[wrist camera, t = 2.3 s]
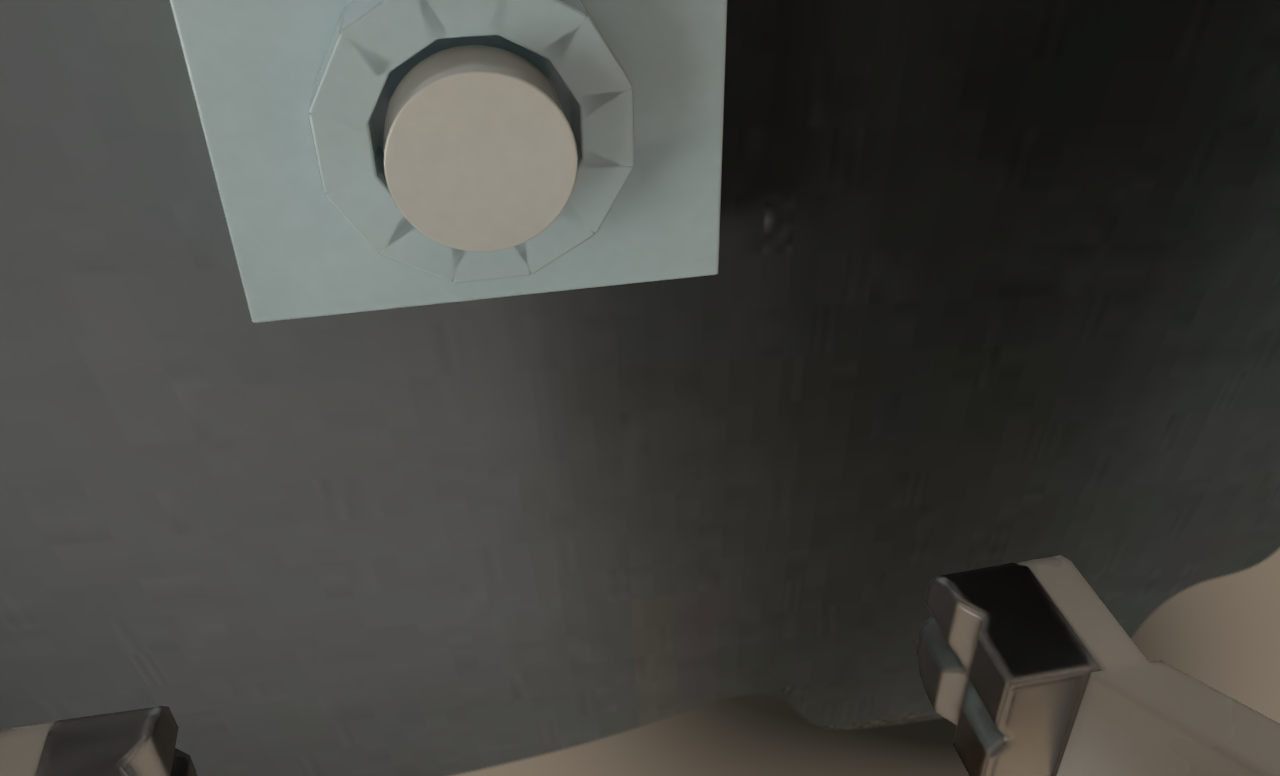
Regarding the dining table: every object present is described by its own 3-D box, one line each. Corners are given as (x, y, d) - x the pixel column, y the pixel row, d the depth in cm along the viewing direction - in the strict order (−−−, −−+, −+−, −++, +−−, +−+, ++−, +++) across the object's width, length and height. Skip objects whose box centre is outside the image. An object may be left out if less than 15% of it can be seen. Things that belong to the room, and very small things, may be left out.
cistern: (698, -161, 25) (756, -123, 21) (692, 222, 31) (737, 309, 27) (167, -138, 24) (121, -91, 20) (263, 264, 29) (244, 364, 25)
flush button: (562, 37, 23) (573, 63, 21) (571, 209, 25) (582, 243, 24) (370, 50, 22) (369, 78, 21) (397, 225, 25) (398, 262, 23)
